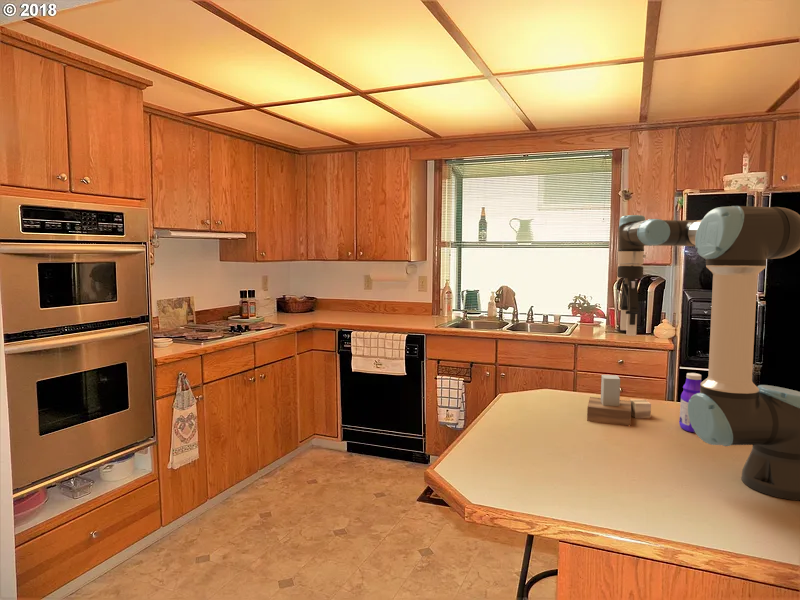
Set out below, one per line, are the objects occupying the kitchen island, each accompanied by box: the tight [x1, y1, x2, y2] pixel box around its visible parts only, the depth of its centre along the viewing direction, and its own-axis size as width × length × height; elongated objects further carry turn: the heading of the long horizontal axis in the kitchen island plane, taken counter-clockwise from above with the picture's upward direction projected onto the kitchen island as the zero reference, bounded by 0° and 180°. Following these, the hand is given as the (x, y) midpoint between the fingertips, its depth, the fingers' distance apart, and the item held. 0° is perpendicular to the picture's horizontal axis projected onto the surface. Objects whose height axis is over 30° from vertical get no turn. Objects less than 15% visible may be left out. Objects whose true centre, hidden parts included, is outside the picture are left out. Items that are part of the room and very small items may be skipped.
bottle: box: [678, 372, 702, 433], centre depth 170 cm, size 7×6×17 cm
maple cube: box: [629, 398, 652, 419], centre depth 184 cm, size 5×5×5 cm
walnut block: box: [586, 396, 632, 426], centre depth 182 cm, size 13×13×5 cm
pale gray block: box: [600, 374, 621, 406], centre depth 182 cm, size 5×5×9 cm
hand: (627, 332), depth 175 cm, fingers open, 13 cm apart
